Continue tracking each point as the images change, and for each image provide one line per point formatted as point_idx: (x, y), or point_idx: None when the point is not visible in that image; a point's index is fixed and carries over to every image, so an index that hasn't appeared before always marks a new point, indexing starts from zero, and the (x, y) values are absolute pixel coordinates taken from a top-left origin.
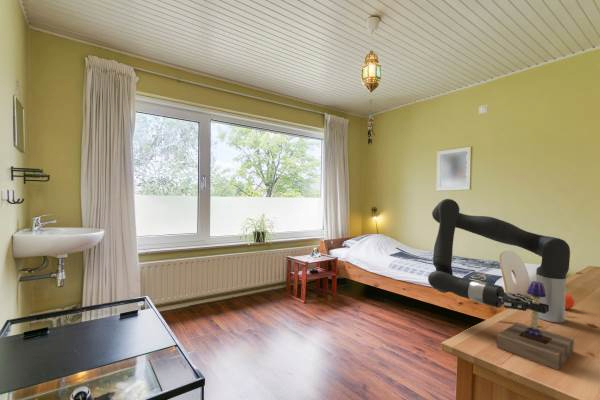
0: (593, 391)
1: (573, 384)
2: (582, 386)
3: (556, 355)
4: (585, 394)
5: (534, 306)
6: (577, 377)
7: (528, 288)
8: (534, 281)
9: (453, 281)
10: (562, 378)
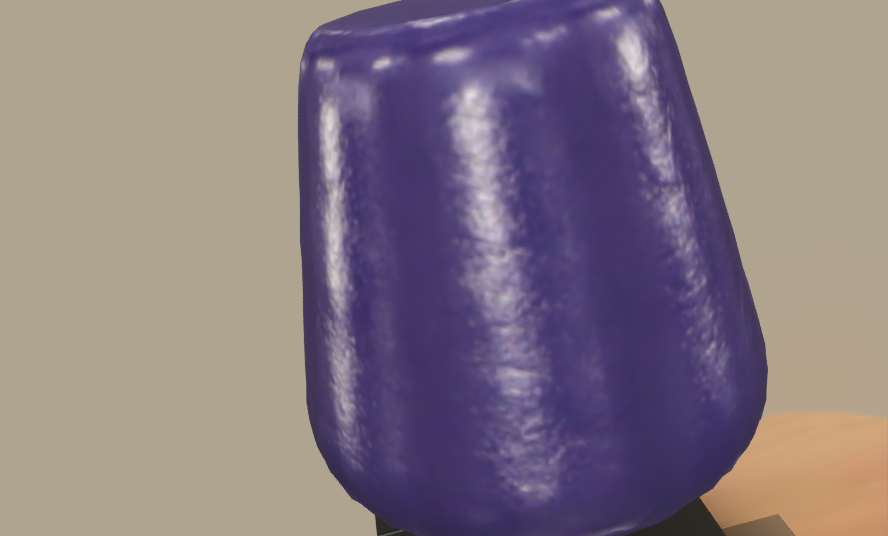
0: (766, 418)
1: (830, 472)
2: (786, 451)
3: (786, 527)
4: (850, 413)
5: (709, 522)
6: (711, 507)
7: (675, 331)
8: (433, 11)
9: None
10: (847, 524)
